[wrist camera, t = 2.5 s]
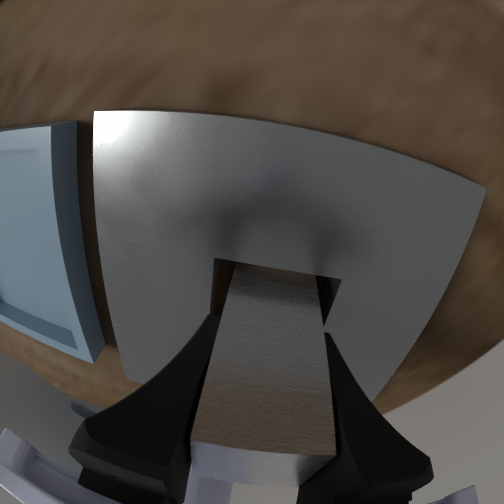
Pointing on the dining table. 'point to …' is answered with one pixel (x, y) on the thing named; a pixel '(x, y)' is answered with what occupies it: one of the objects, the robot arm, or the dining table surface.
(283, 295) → the pin
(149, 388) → the robot arm
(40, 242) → the tray
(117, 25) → the dining table surface
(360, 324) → the pin plate
